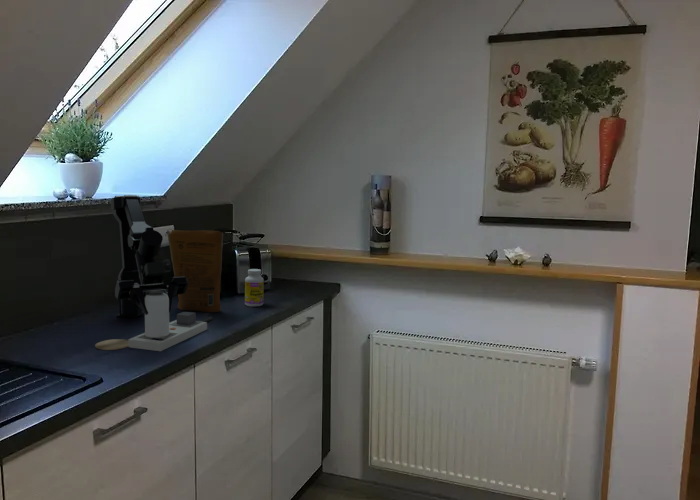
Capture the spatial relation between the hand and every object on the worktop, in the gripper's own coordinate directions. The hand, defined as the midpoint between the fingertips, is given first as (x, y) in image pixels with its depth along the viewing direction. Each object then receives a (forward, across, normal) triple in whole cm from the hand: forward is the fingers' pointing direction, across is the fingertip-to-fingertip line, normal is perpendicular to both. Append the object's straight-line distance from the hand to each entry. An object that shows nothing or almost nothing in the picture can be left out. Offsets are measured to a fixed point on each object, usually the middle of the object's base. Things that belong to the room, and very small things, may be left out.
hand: (158, 313), depth 165 cm
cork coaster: (+3, -11, +10) cm, 15 cm away
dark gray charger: (-3, +11, +12) cm, 17 cm away
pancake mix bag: (-18, +22, +31) cm, 42 cm away
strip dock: (+3, +4, +10) cm, 11 cm away
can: (+4, 0, +6) cm, 7 cm away
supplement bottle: (-17, +42, +31) cm, 55 cm away
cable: (-5, +18, +18) cm, 26 cm away
